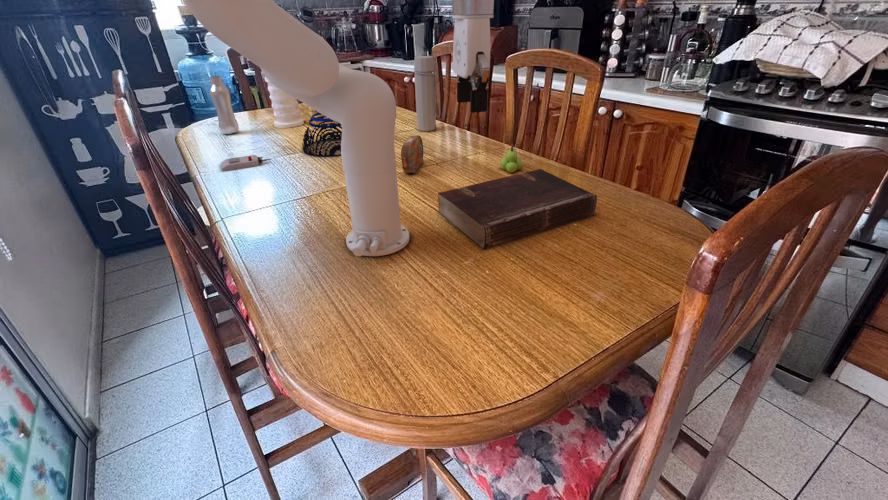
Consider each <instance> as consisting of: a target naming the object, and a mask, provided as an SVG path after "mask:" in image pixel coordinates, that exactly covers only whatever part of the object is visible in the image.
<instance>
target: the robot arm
mask: <svg viewBox="0 0 888 500" xmlns="http://www.w3.org/2000/svg"><path fill="white" fill-rule="evenodd" d="M182 1H183V3H184V4H185V5H186V7H187V9H188V10H189V12H190V13H191V15H192V16H193V18H195V19H196V21H197V22H199V24H200V25H202V27H203V28H205V29H206V30H207V31H208V32H209V33H210V34H211V35H213V36H214V37H215V38H217V39H218V40H219V41H220V42H222V43H224V44H225V45H226V46H228V47H229V48H230V49H232V50H234V51H235V52H236V53H238V54H239V55H241V56H242V57H243V58H245V59H247V60H248V61H250V62H251V63H252V64H254V65H255V66H257V67H258V68H259V69H260V70H261V72H262V74H263V75H264V76H265V77H266V78H267V79H268V80H269V81H270V82H272V83H273V84H274V85H276V86H277V87H279V88H280V89H282V90H283V91H285V92H286V93H288V94H290V95H291V96H293V97H295V98H296V99H297V101H298V102H299V101H300V102H301V103H302V104H304V105H306V106H308V107H309V108H311V109H312V110H314V111H315V110H316V111H317V112H319V113H321V116H326V117H325V118H329V119H331V120H333V121H335V122H334V123H336V122H338V123H340V124H341V125H342V129H341V131H342V139H341V140H340V142H341V143H340V145H341V151H340V154H341V156H340V157H341V165H342V170H343V176H344V182H345V189H346V195H347V202H348V209H349V216H350V222H351V228H352V230H351V231H349V232H348V234H347V236H346V238H345V245H346V247H347V249H348V250H349V251H350V252H352V254H353V255H354V256H356V257H362V256H364V257H365V256H366V257H383V256H387V255H391V254H394V253H397V252H399V251H401V250H403V249H404V248H405V247H406V246H407V245H408V244H409V242H410V232H409V229H408V228H407V227H405V226H404V225H402V222H401V210H400V209H401V208H400V199H399V198H400V197H399V186H398V185H399V184H398V173H397V164H396V163H397V162H396V153H395V152H396V150H395V133H396V132H395V129H396V120H397V102H396V98H395V97H396V96H395V95H394V92H393V90H392V89H391V87H390V85H389V84H388V82H386V81H385V80H384V79H382V78H381V77H380V76H377V75H376V74H374V73H371V72H367V71H362V70H359V69H353V68H349V67H346V66H344V65H343V64H342V63H340V62H339V59H338V57H337V54H336V51H334V49H333V47H332V46H331V45H330V44H329V43H328V41H327V40H325V39H324V37H322V36H321V35H320V34H318V33H316V31H313V30H312V29H311V28H309V27H308V26H307V25H305V24H304V23H302V22H301V21H300V20H298V19H297V18H296V17H294V16H293V15H292V14H291V13H289V12H288V11H287V10H285V9H284V8H283V7H281V6H280V5H279V4H277V3H276V2H275V1H274V0H182ZM494 7H495V0H451V18H452V19H454V26H453V37H452V38H453V42H452V72H453V73H454V74H455V75H456V103H469V105H470V106H469V107H470V108H469V109H470V112H471V113H472V114H474V113H485V112H487V111H488V92H489V81H490V77H489V75H490V70H491V68H490V67H491V20H490V19H494V9H495V8H494ZM317 112H316V113H317Z"/></svg>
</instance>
